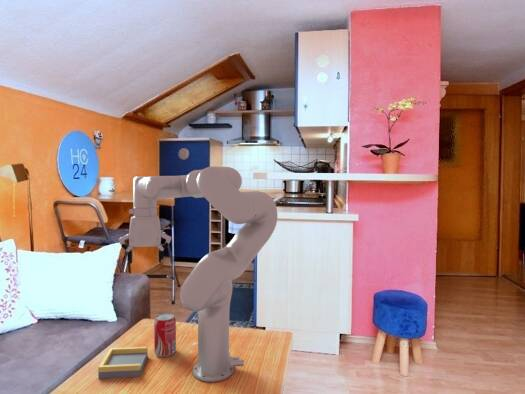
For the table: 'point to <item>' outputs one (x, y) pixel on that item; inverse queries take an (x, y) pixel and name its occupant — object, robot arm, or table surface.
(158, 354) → the soda can
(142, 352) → the tray
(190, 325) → the table surface
